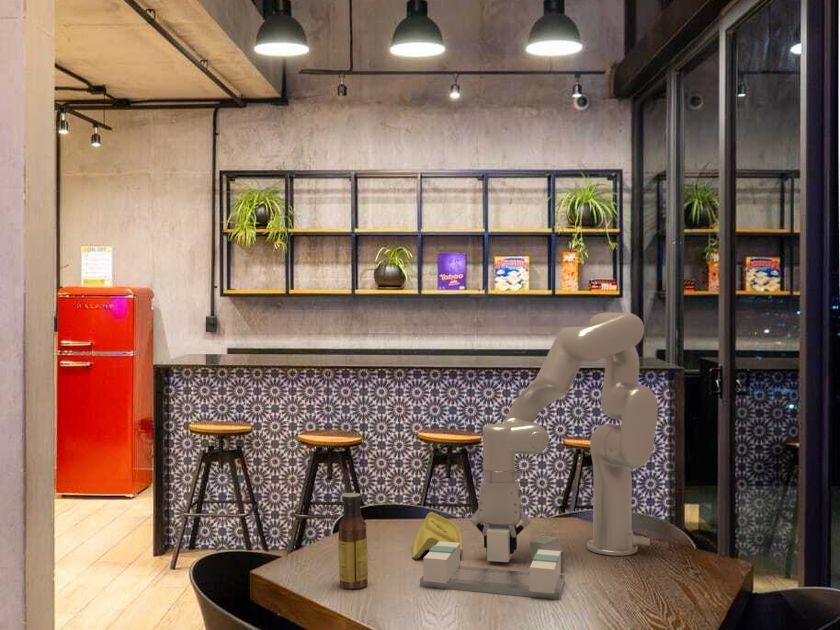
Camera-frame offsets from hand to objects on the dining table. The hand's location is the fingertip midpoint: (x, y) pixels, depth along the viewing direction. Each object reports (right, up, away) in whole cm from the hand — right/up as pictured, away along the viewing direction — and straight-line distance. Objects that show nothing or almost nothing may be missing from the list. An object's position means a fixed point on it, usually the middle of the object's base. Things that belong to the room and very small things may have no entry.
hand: (500, 550), depth 200 cm
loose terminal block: (+11, -3, +6) cm, 13 cm away
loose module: (0, -1, 0) cm, 1 cm away
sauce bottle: (-34, -2, -19) cm, 39 cm away
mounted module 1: (-14, -1, -14) cm, 20 cm away
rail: (-3, -2, -17) cm, 18 cm away
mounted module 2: (+8, -1, -20) cm, 22 cm away
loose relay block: (+11, -3, -6) cm, 13 cm away
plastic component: (-15, -3, +9) cm, 17 cm away
